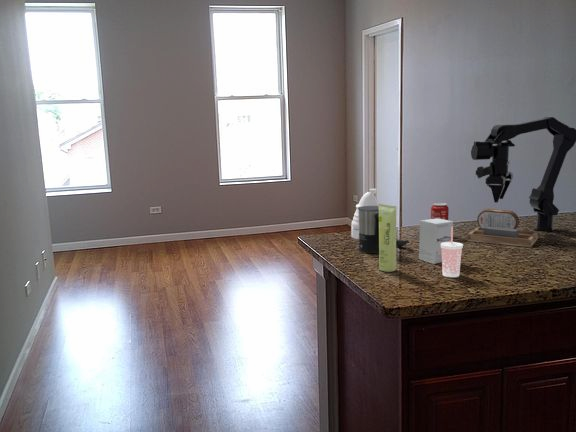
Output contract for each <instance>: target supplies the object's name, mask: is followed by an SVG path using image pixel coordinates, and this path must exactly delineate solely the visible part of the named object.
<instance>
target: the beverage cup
mask: <svg viewBox="0 0 576 432" xmlns="http://www.w3.org/2000/svg"><path fill="white" fill-rule="evenodd" d="M453 238H454V226H453V227H451V242H443V243H441V248H442V262H441V267H442V269H441V271H442V276H444V277H446V278H458V277H460V273H461V262H462V261H461V260H462V251H463V248H464V243H461V242H456V241H454V239H453Z"/></svg>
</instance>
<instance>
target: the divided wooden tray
mask: <svg viewBox="0 0 576 432" xmlns="http://www.w3.org/2000/svg"><path fill="white" fill-rule="evenodd" d="M483 229H484V227H479V226H477V227H476V228H474V229H473V230H471V231H470V232H469V233H467V242H475V243H486V244H494V245H495V244H496V245H504V246H505V245H507V246H517V247H525V248H526V247H527V248H531V247H532V246H533V245H534V244H535V243H536V242H537V240H538V239H539V232H538V231H530V230H520V229H519V238H511V237H500V236H489V235H483Z"/></svg>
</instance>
